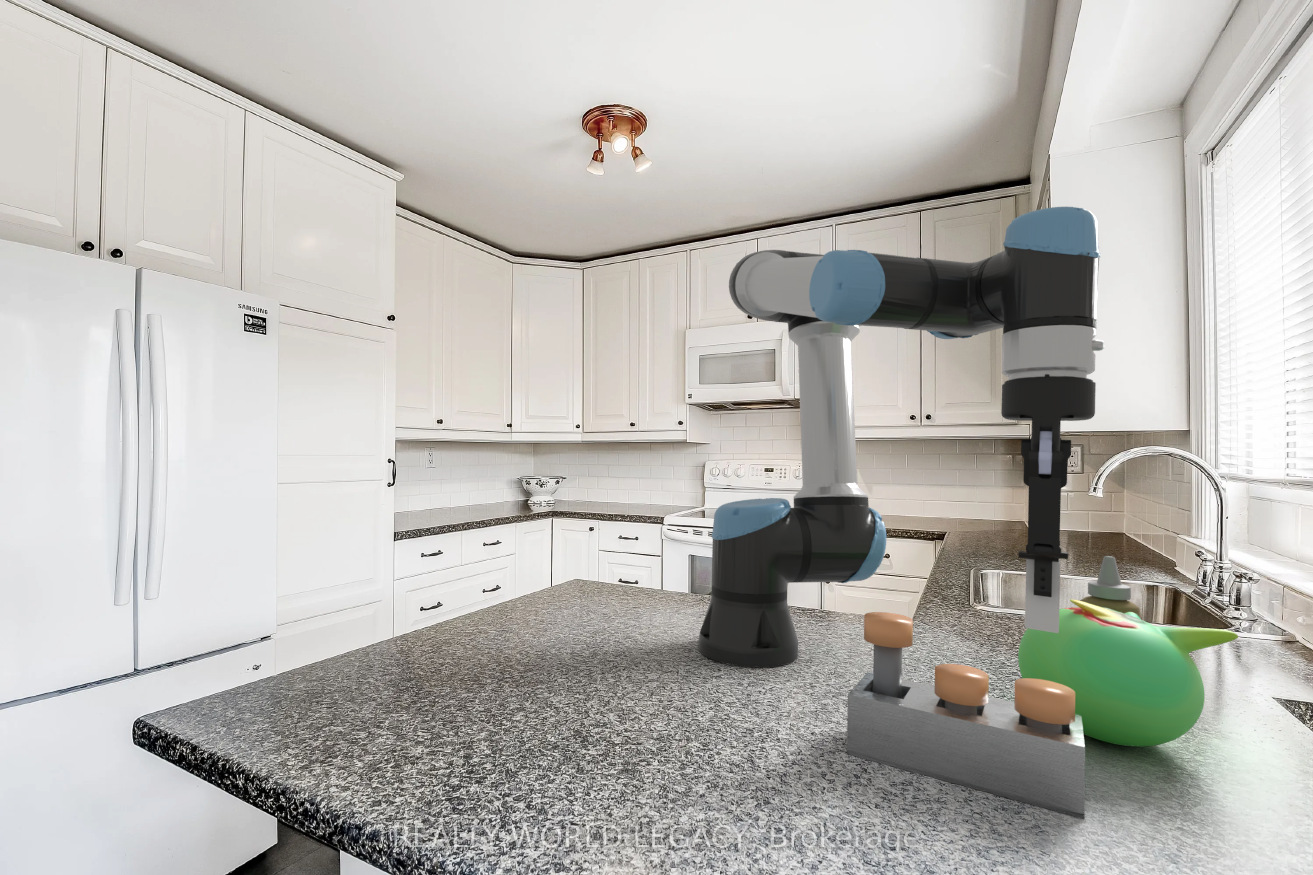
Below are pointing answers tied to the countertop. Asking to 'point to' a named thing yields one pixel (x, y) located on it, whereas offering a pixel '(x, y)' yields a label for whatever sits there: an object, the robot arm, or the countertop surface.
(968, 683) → the knob middle
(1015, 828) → the countertop surface
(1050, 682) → the knob
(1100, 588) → the squeeze bottle
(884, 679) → the knob
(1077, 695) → the toy bird
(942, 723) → the mount
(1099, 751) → the countertop surface
